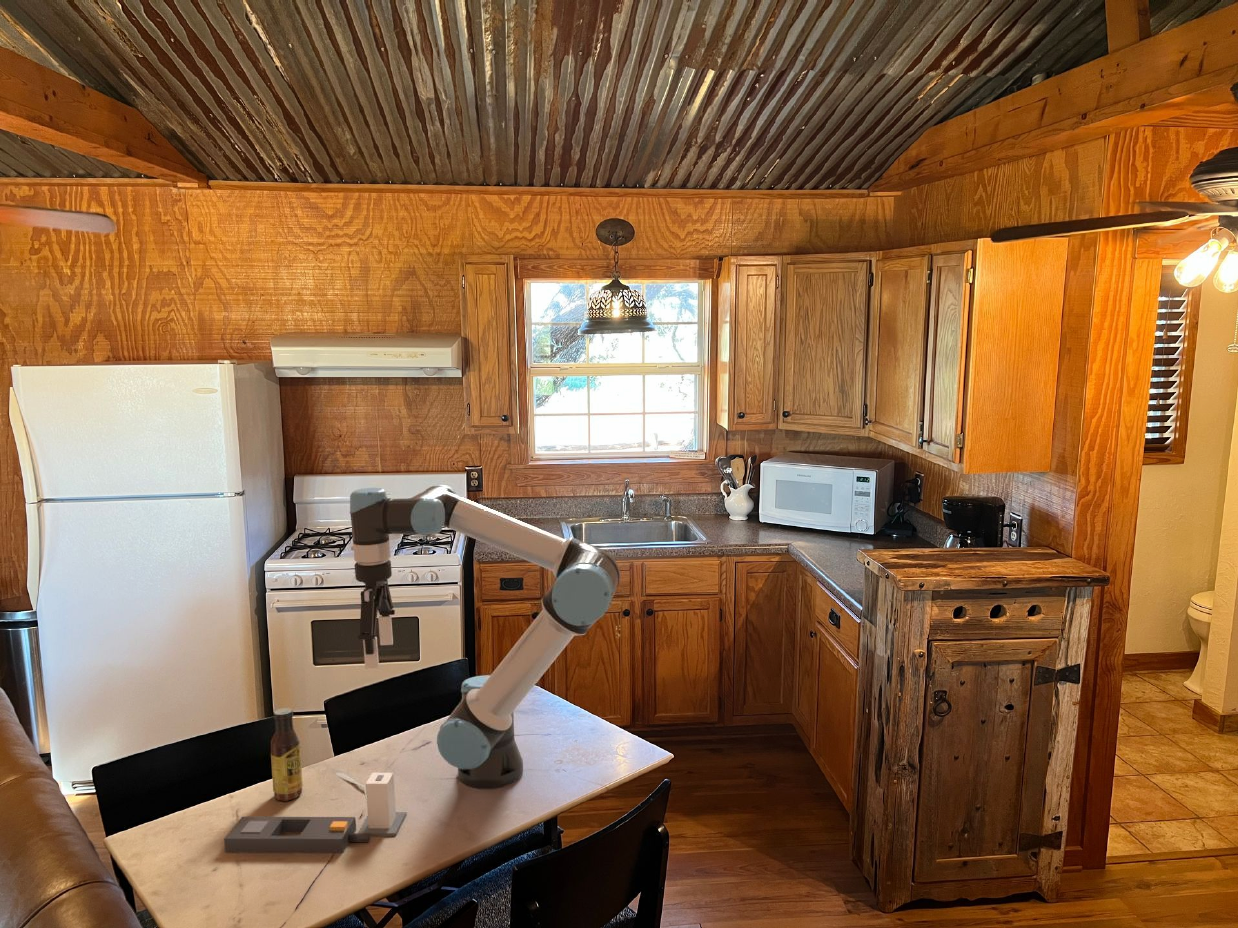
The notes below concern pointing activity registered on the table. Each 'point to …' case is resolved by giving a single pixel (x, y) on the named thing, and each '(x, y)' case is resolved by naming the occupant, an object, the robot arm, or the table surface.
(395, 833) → the mat
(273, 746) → the sauce bottle
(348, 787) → the table surface
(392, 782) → the block
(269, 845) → the power strip
